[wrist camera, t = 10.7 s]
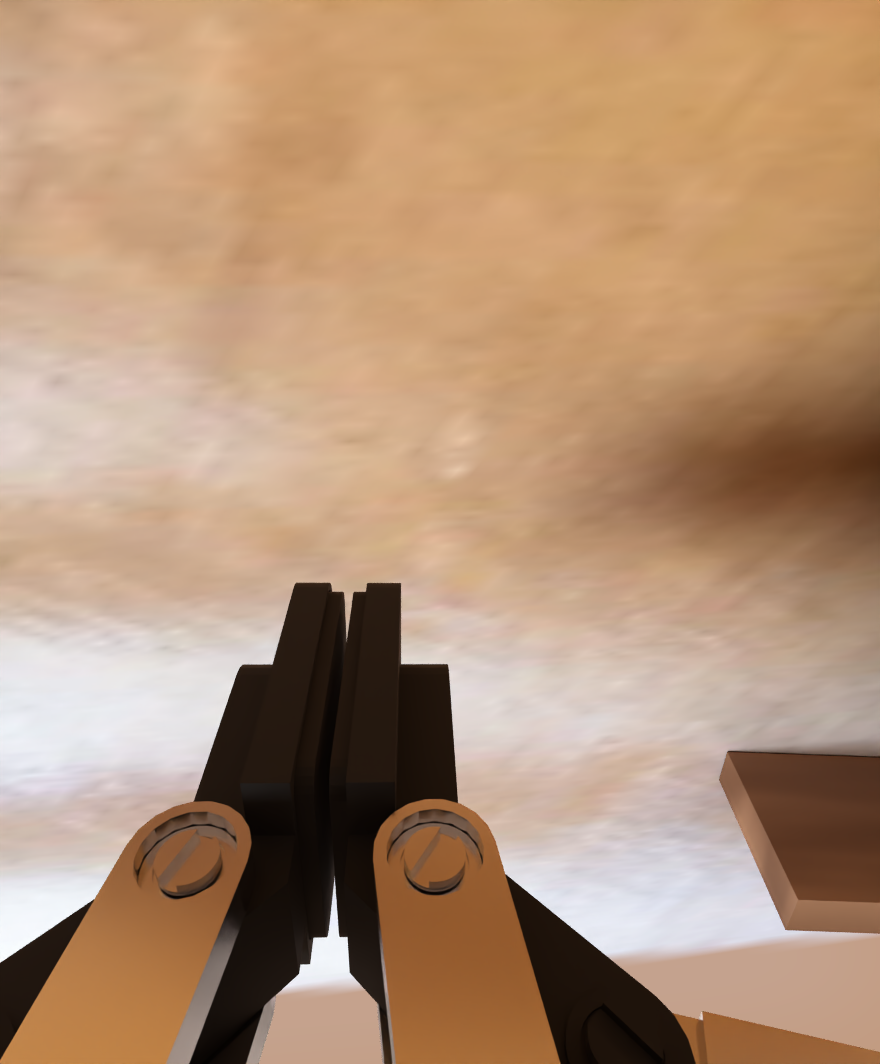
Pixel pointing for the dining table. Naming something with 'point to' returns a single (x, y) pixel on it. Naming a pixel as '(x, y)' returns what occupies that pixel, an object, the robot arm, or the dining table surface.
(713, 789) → the dining table surface
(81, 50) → the dining table surface
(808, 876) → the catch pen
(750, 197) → the dining table surface
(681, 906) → the dining table surface
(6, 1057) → the robot arm
